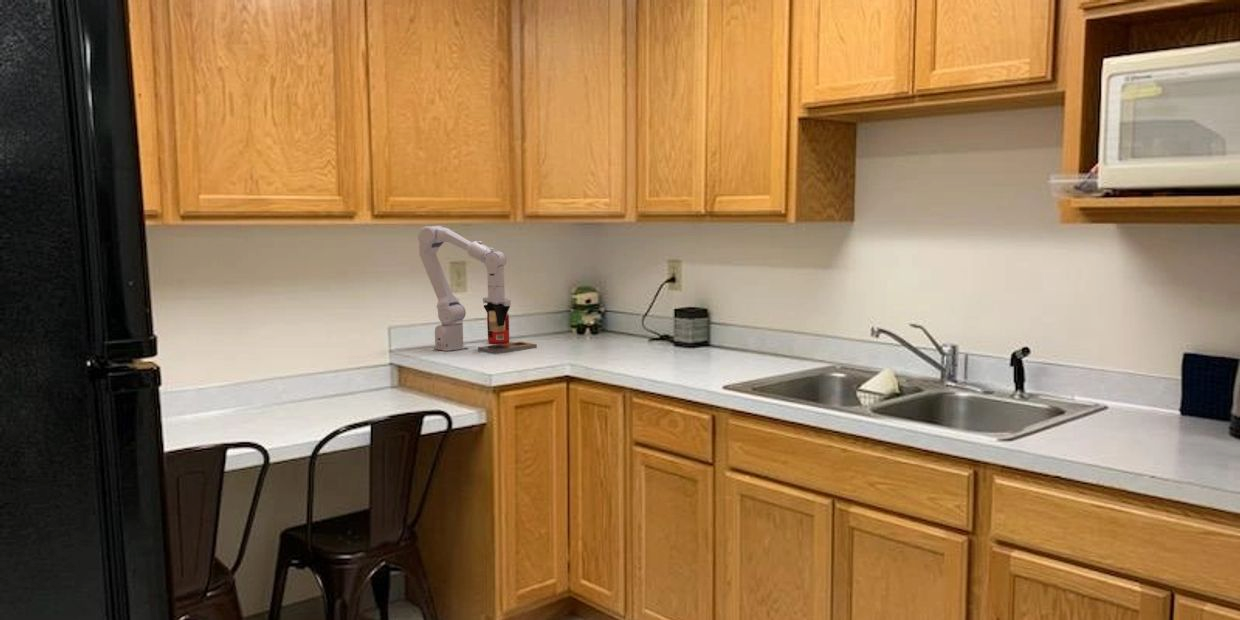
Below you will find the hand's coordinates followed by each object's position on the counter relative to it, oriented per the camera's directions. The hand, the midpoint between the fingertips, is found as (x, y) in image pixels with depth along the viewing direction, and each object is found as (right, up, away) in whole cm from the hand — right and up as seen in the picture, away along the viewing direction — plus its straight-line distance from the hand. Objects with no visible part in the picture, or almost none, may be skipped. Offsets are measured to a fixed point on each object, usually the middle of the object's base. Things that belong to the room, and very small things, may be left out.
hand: (497, 325), depth 315 cm
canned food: (-2, -7, +19) cm, 20 cm away
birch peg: (0, -2, 0) cm, 2 cm away
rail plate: (+3, -9, +4) cm, 10 cm away
